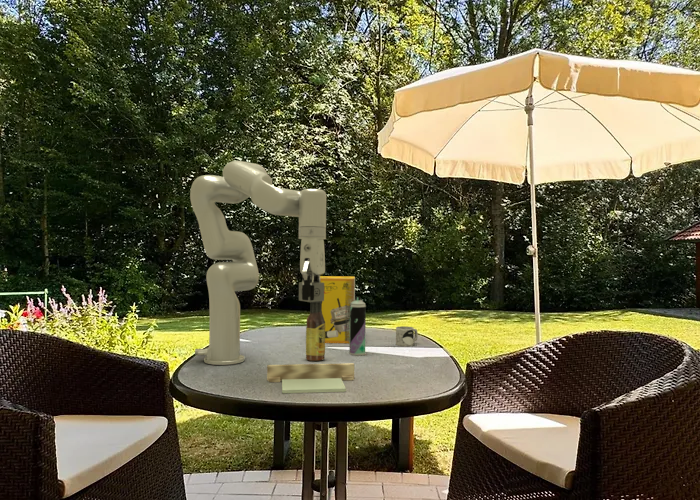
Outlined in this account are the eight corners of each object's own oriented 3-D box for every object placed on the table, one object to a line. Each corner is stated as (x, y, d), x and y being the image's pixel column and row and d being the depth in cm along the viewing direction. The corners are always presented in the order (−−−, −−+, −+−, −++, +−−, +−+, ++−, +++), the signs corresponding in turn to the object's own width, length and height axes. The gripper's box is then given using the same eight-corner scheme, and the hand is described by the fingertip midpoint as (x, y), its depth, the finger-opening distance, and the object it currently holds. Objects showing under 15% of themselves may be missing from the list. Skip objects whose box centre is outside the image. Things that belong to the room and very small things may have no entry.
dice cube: (324, 300, 147) (324, 282, 147) (309, 301, 144) (309, 283, 144) (313, 299, 151) (313, 281, 151) (298, 300, 148) (298, 282, 148)
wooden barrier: (267, 382, 144) (267, 367, 144) (267, 377, 149) (267, 363, 149) (355, 380, 147) (355, 365, 147) (352, 376, 152) (352, 361, 152)
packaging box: (354, 343, 205) (354, 278, 205) (311, 343, 205) (312, 278, 205) (354, 336, 221) (354, 276, 221) (315, 336, 221) (315, 276, 221)
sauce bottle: (322, 362, 170) (322, 300, 170) (303, 361, 172) (303, 299, 172) (327, 358, 177) (327, 298, 177) (308, 357, 178) (309, 297, 178)
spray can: (353, 356, 180) (354, 297, 180) (346, 353, 185) (347, 295, 185) (368, 354, 183) (368, 296, 183) (360, 352, 188) (361, 295, 188)
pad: (282, 393, 133) (282, 390, 133) (281, 382, 144) (282, 379, 144) (346, 391, 135) (346, 388, 135) (340, 381, 146) (341, 378, 146)
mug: (404, 347, 198) (404, 329, 198) (392, 344, 203) (392, 327, 203) (423, 344, 204) (423, 327, 204) (410, 342, 210) (411, 325, 210)
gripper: (317, 233, 139) (316, 302, 139) (332, 234, 156) (331, 296, 156) (289, 232, 140) (289, 301, 140) (307, 234, 157) (306, 295, 157)
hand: (311, 298), depth 148 cm, fingers closed on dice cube, 6 cm apart
